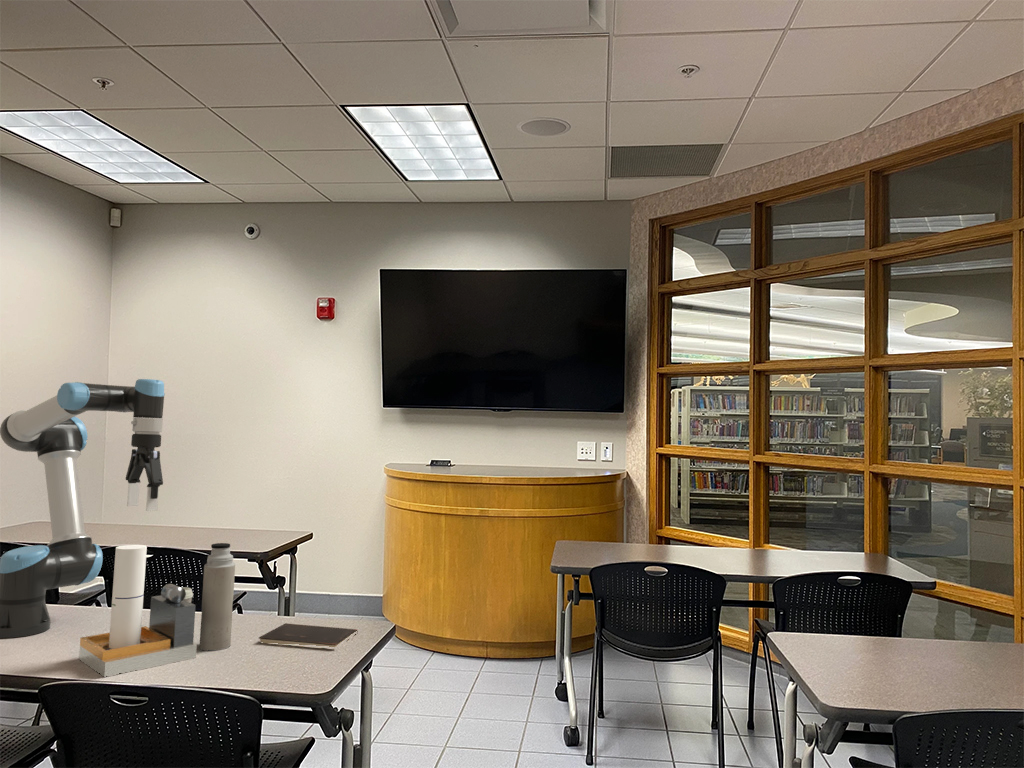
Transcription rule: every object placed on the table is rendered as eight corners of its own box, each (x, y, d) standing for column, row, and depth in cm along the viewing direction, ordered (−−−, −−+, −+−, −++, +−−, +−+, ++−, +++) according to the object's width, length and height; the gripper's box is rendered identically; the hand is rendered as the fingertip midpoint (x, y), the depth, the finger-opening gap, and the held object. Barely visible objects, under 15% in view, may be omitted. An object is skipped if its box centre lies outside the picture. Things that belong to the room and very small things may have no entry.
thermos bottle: (222, 640, 201) (228, 540, 203) (235, 646, 196) (241, 544, 198) (194, 645, 196) (200, 543, 197) (207, 652, 190) (213, 547, 192)
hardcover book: (335, 652, 195) (335, 644, 196) (258, 645, 199) (258, 637, 199) (357, 636, 211) (357, 628, 211) (285, 630, 215) (286, 622, 215)
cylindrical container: (126, 650, 178) (133, 550, 180) (102, 647, 180) (109, 548, 182) (146, 642, 185) (153, 545, 187) (122, 639, 187) (129, 544, 188)
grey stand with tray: (78, 659, 182) (83, 590, 183) (167, 642, 198) (171, 578, 199) (104, 677, 170) (109, 603, 171) (195, 657, 186) (200, 589, 187)
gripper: (116, 431, 208) (111, 504, 207) (150, 434, 191) (145, 513, 190) (143, 432, 214) (138, 503, 212) (179, 434, 197) (174, 511, 196)
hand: (141, 508), depth 201 cm, fingers open, 13 cm apart
